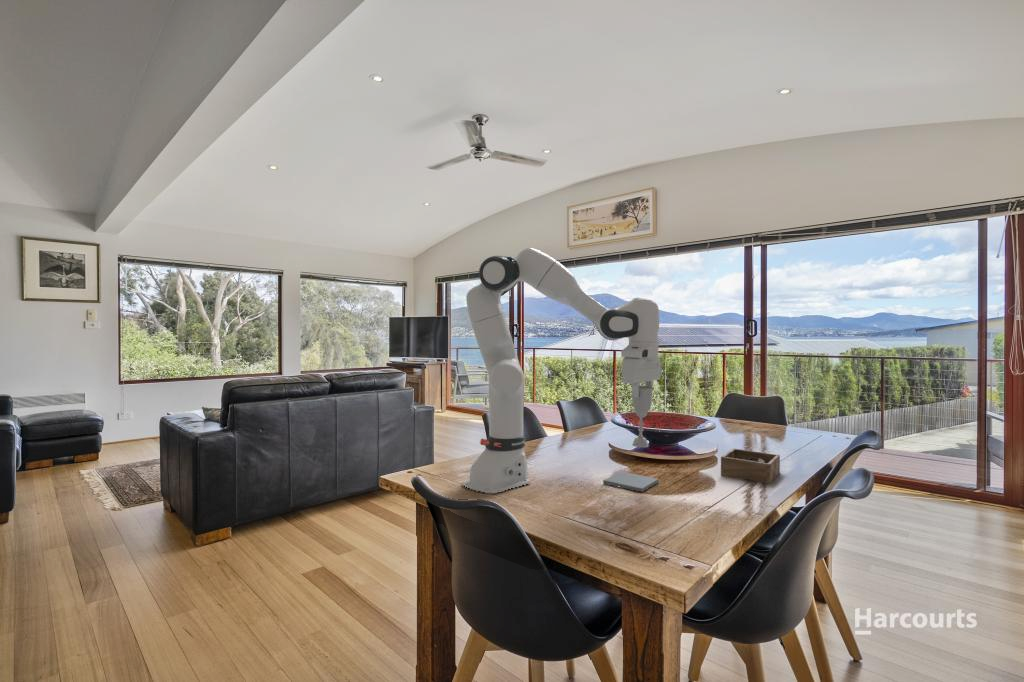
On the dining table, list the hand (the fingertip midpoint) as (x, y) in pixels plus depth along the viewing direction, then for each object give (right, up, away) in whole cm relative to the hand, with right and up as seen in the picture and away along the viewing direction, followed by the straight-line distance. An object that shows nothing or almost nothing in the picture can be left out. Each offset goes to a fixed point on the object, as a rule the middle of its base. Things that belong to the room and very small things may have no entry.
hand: (641, 396), depth 149 cm
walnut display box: (+40, -27, +12) cm, 50 cm away
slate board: (-2, -28, +3) cm, 28 cm away
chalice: (0, -15, 0) cm, 15 cm away
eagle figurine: (+40, -28, +10) cm, 50 cm away
